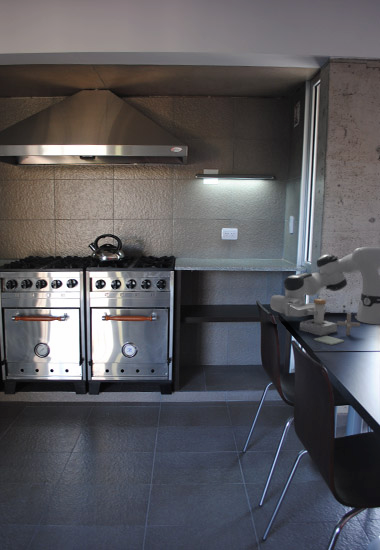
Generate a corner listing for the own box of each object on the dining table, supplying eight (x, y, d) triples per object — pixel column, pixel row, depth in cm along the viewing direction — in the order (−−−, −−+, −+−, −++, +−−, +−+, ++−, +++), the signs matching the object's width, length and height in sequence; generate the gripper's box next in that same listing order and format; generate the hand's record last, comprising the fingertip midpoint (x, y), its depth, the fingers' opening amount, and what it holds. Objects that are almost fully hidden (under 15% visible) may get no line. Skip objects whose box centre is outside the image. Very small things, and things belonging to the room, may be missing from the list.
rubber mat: (326, 336, 202) (326, 335, 202) (343, 341, 195) (344, 340, 195) (313, 340, 196) (314, 338, 196) (331, 345, 189) (331, 343, 189)
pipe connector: (361, 338, 200) (362, 316, 199) (337, 336, 202) (339, 315, 201) (357, 332, 210) (358, 311, 209) (335, 331, 212) (336, 310, 211)
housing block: (315, 326, 220) (315, 318, 220) (336, 331, 211) (337, 323, 210) (299, 330, 213) (300, 321, 212) (320, 335, 204) (321, 327, 203)
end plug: (316, 328, 216) (318, 298, 214) (326, 331, 211) (328, 300, 209) (309, 330, 212) (311, 299, 210) (319, 333, 208) (321, 301, 206)
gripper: (309, 311, 228) (333, 316, 217) (283, 316, 215) (306, 322, 204) (310, 299, 227) (334, 303, 216) (283, 303, 214) (307, 308, 203)
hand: (320, 312), depth 210 cm, fingers closed on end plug, 4 cm apart
